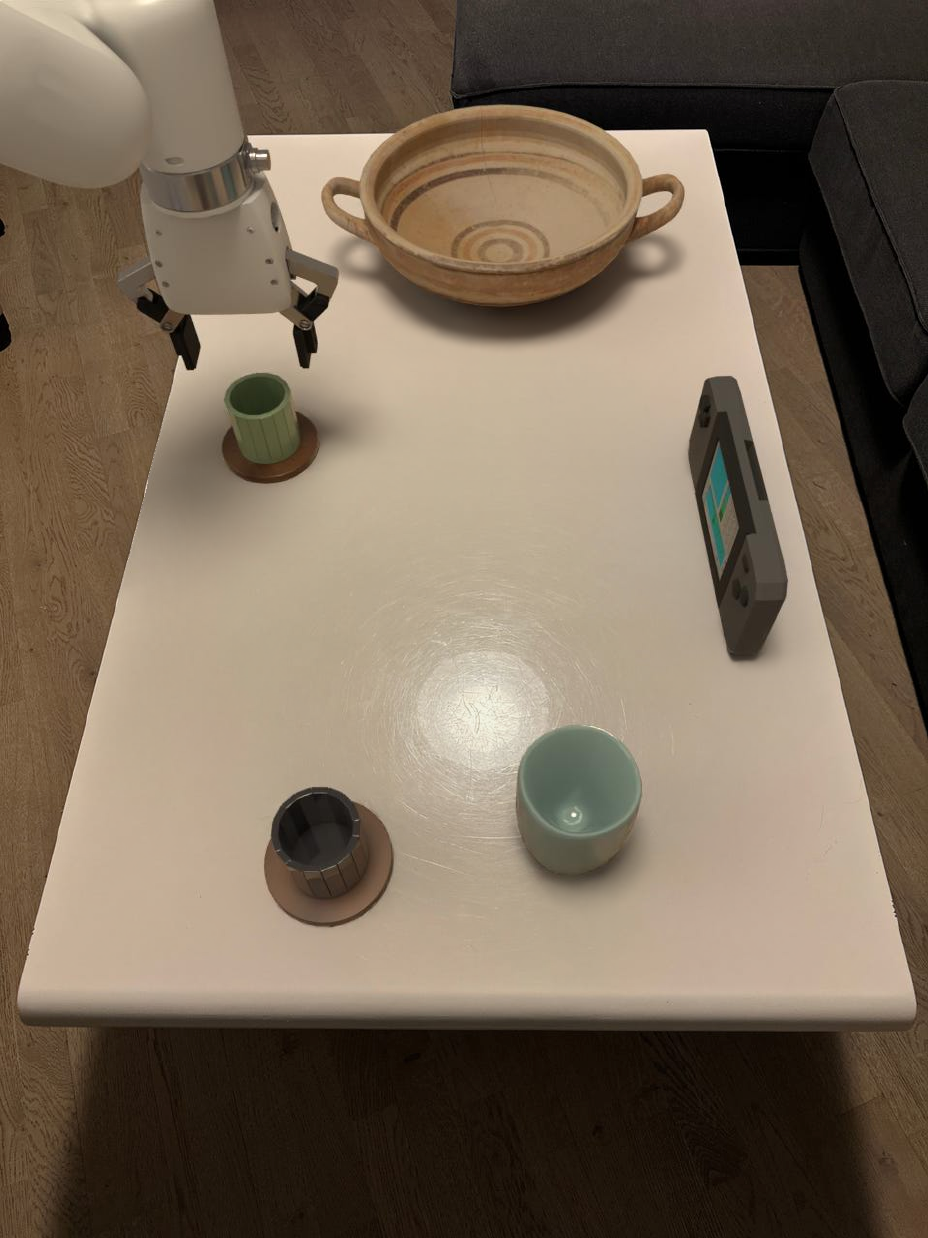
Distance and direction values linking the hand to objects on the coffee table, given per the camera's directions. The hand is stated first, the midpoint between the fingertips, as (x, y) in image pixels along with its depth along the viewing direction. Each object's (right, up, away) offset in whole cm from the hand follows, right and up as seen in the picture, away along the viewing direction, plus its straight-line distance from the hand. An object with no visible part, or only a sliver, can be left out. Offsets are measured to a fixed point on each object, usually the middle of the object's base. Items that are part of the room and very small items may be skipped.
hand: (250, 358), depth 80 cm
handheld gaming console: (+40, -16, +1) cm, 43 cm away
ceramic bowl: (+22, +17, +23) cm, 36 cm away
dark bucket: (+9, -39, -13) cm, 43 cm away
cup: (+26, -38, -12) cm, 47 cm away
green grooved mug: (0, -6, +9) cm, 11 cm away
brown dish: (0, -6, +9) cm, 11 cm away
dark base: (+9, -39, -13) cm, 43 cm away
